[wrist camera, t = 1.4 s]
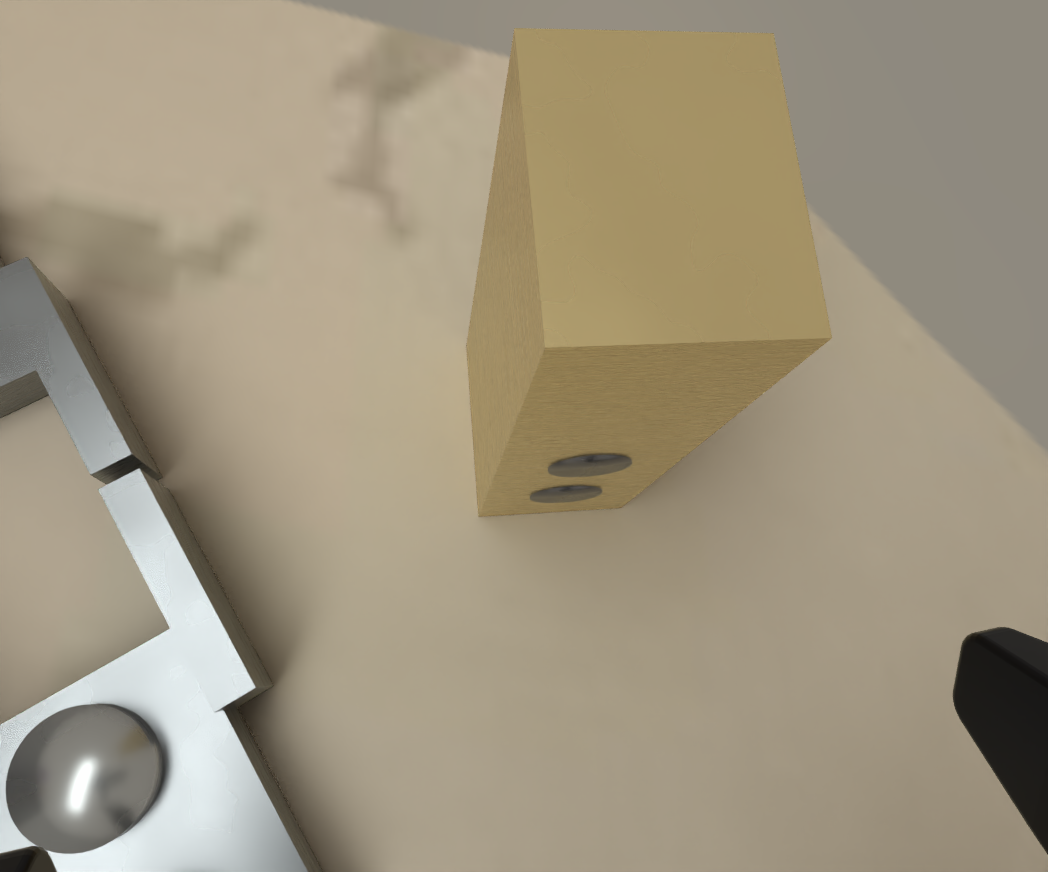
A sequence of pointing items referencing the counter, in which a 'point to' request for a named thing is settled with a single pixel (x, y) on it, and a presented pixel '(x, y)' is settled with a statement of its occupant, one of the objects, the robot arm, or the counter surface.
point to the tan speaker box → (633, 261)
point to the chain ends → (135, 660)
